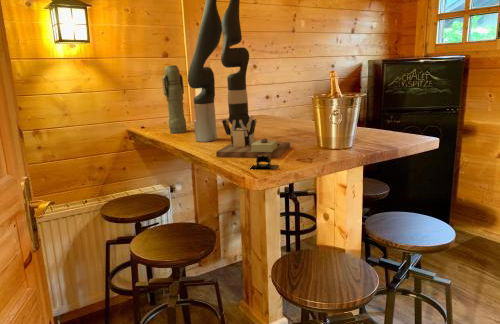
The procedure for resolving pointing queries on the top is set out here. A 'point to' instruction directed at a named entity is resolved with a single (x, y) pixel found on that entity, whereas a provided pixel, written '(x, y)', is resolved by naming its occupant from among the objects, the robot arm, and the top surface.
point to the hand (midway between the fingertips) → (240, 145)
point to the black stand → (264, 166)
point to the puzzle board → (246, 152)
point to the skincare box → (252, 138)
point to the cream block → (239, 138)
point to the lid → (264, 146)
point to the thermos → (174, 99)
